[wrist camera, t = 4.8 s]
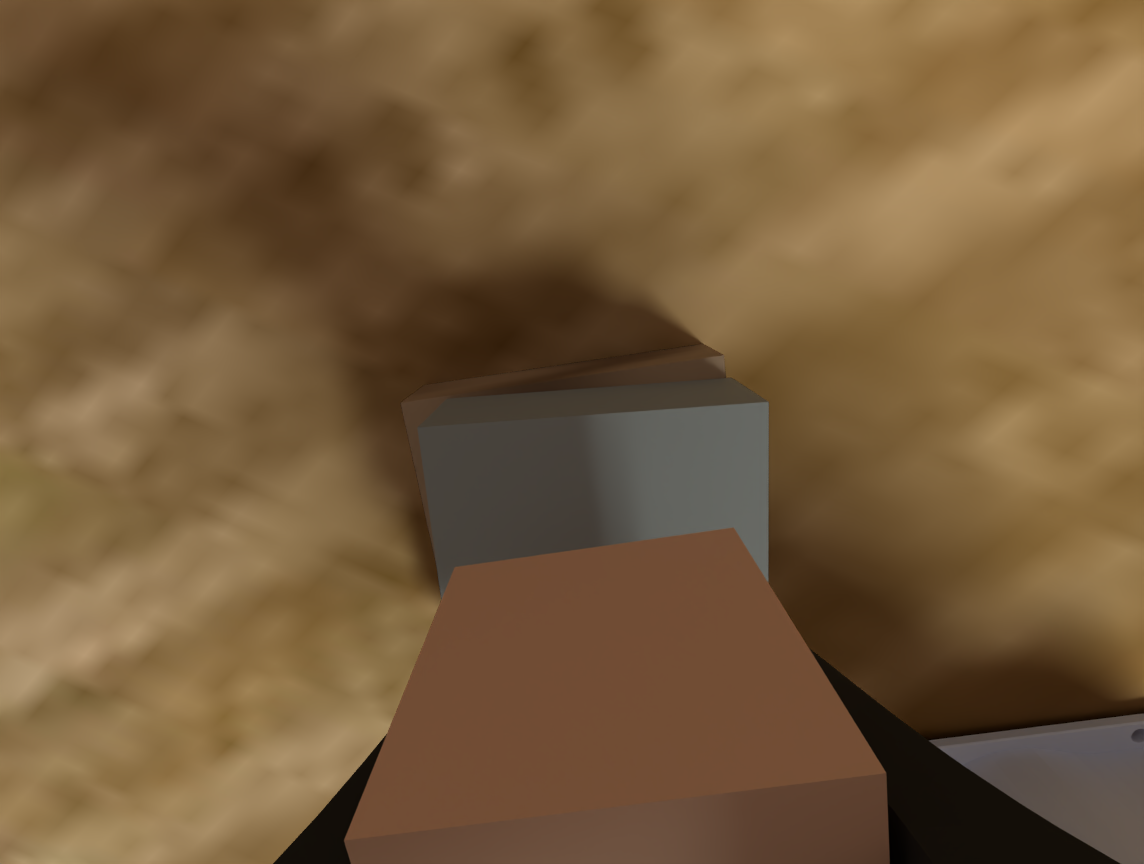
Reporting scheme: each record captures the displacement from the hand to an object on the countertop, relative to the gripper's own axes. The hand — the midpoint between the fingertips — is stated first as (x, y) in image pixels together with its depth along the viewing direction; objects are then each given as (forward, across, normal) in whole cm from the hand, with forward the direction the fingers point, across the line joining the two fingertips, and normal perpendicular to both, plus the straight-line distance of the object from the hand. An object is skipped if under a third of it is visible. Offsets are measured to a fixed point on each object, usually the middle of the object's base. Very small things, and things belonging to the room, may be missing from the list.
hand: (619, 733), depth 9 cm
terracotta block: (+2, 0, 0) cm, 2 cm away
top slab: (+7, 0, 0) cm, 7 cm away
